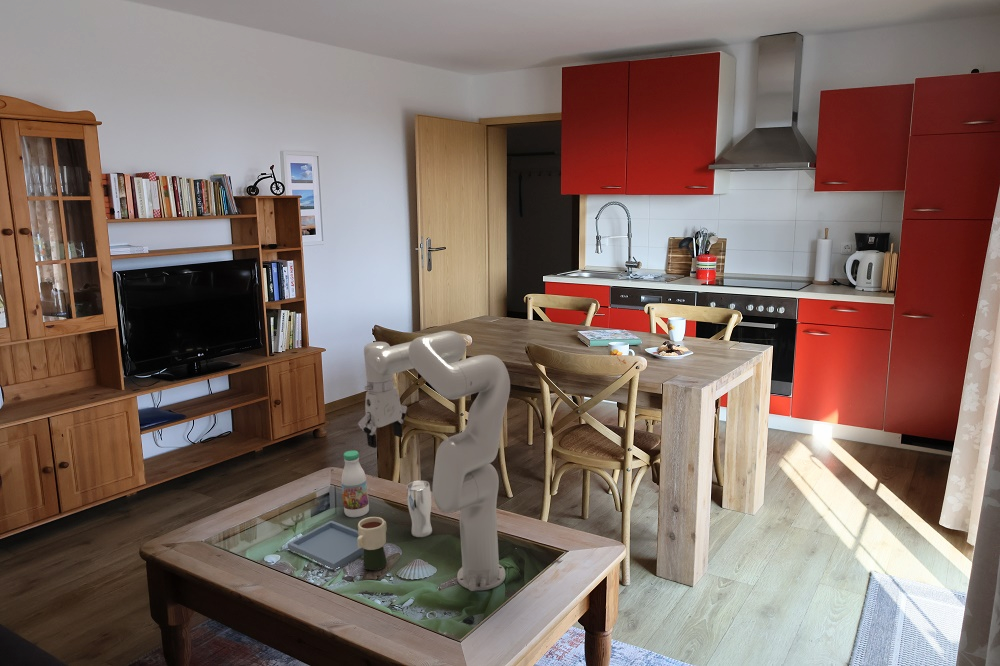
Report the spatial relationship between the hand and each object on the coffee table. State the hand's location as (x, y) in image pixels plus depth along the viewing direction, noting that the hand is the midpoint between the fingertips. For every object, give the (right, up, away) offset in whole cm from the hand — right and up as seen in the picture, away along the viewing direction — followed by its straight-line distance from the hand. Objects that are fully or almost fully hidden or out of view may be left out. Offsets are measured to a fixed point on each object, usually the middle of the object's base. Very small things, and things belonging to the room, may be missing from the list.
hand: (385, 441), depth 212 cm
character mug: (0, -32, -15) cm, 35 cm away
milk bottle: (-12, -25, +17) cm, 32 cm away
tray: (-14, -30, -4) cm, 33 cm away
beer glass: (+10, -27, +3) cm, 29 cm away
